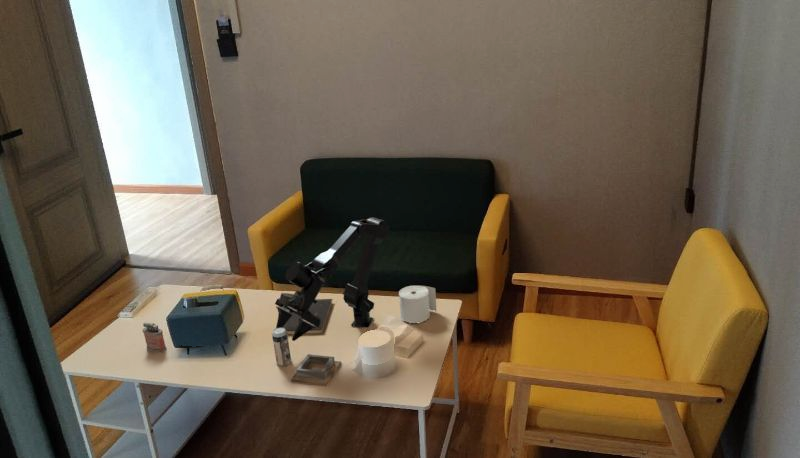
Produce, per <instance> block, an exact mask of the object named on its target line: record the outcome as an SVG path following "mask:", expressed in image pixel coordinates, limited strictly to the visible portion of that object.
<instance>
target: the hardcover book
mask: <svg viewBox="0 0 800 458" xmlns="http://www.w3.org/2000/svg"><path fill="white" fill-rule="evenodd" d="M315 300H316V301H317V302H316V304H315V303H313V304H312V306H311V308H310V310H309V311H310V312H311V314H313V315H315V316H317V317H319V318H320V319H321V324H320V326H319V327H317V326H314V327H315V329H314V328H313V329H311V330H309V331H308V332H306V333H305V334H306V335H307V334H308V335H309V334H323V331H324V328H325V326H326V323H327V322H326V321H327V319H328V315H329V313H330V309H331V307H332V305H333V304H332V303H333V298H319V299H318V298H316V299H315ZM296 310H297V309H296ZM289 313H290V314H292V316H291V318H290V319H289V320H288V321H287V322H286V324H285V325H284V326H283V327H282V328H284V329H285V330H286V331H287V335H294V333H295V331H296V329H297V327H298V325H299V319H301V320H303V319H302V318H301V316H299V315H297V314H296V313H294V312H293V313H291V312H289ZM300 313H301V311H300ZM305 334H304V335H305Z"/></svg>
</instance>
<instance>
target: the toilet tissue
mask: <svg viewBox="0 0 800 458" xmlns="http://www.w3.org/2000/svg"><path fill="white" fill-rule="evenodd" d="M436 293H437V292H436V288H435V287H431V286H426V285H409V286H405V287H403V288H401V289H400V290H399V291H398V298H399V299H398V300H399V310H400V311H399V313H400V319H401V318H402V319H403V320H405V321H406V322H409V323H408V324H411V323H417V322H422V321H425V320H426V321H428V320H429V319H430V317H431V315H430V314H431V312H430V311H433V310H435V311H434V312H437V296H436ZM429 309H430V310H429ZM429 316H430V317H429ZM428 318H429V319H428ZM402 319H401V320H402ZM427 319H428V320H427ZM426 321H425V322H426ZM406 322H405V323H406ZM422 323H423V322H422Z"/></svg>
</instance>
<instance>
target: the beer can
mask: <svg viewBox="0 0 800 458" xmlns="http://www.w3.org/2000/svg"><path fill="white" fill-rule="evenodd" d="M271 337H272V342H273V348H274V349H273V350H274V355H275V356H274V357H275V361H276V362H275V363H276V364H277V365H278V366H281V367H283V366H285V367H286V366H288V365H290V363H291V362H292V356H291V351H290V350H291V349H290V343H289V336H288V334H287V331H286V330H285V329H284V328H282V327H281V328H276V327H275V329H273V330H272V333H271Z"/></svg>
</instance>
